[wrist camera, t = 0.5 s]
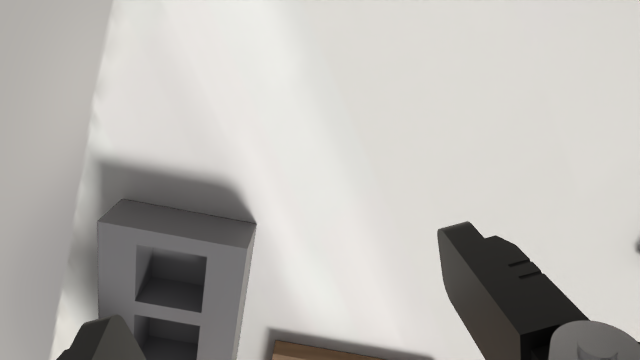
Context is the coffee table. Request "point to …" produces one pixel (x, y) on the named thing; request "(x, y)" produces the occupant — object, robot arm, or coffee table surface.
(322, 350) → the rest pad
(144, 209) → the grey compartment tray
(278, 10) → the coffee table surface
